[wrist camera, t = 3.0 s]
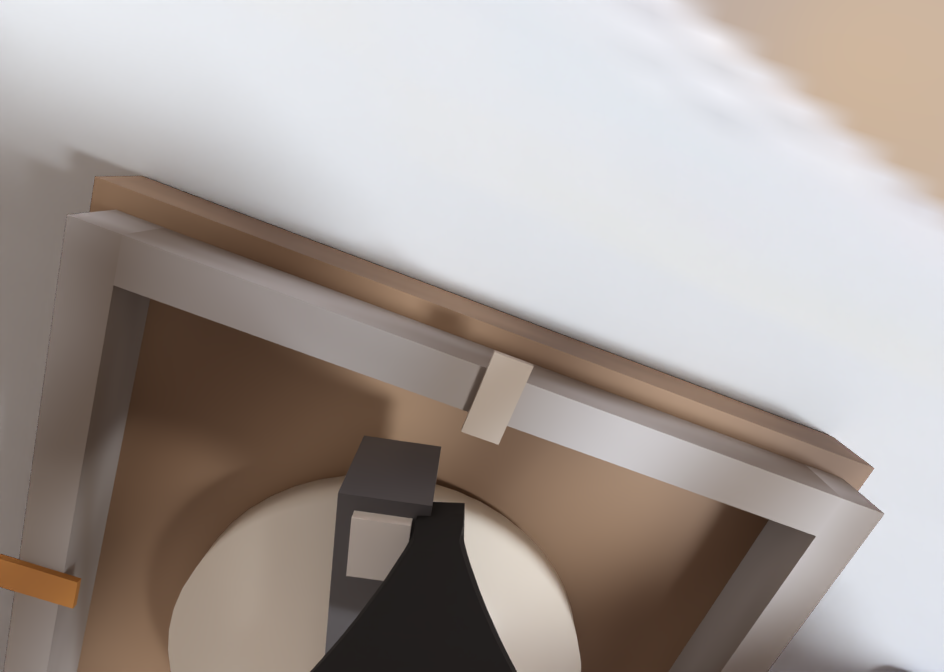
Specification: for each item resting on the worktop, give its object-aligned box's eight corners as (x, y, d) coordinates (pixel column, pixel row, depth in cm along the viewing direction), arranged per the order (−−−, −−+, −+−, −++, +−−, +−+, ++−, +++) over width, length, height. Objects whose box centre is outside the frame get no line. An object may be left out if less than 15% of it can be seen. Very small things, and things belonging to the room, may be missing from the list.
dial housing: (832, 436, 13) (924, 506, 11) (552, 856, 19) (564, 976, 16) (141, 175, 12) (36, 176, 9) (45, 713, 17) (-40, 819, 14)
